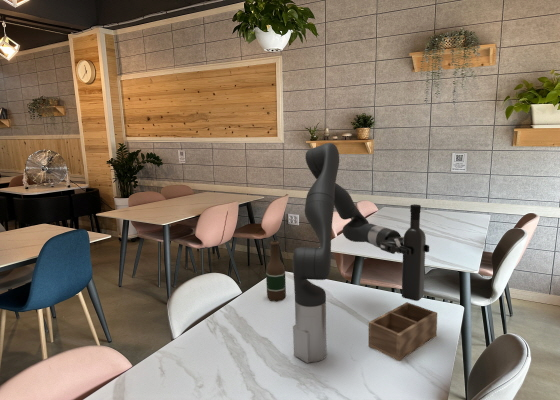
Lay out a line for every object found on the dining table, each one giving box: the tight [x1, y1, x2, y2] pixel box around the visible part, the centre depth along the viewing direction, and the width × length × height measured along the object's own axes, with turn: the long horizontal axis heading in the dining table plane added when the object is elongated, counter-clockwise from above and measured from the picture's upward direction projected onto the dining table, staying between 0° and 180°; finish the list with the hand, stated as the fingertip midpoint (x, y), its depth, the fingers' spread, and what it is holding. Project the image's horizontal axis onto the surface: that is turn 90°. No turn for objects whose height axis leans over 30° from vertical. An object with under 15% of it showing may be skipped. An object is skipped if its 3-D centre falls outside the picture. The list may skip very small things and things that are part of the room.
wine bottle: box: [401, 203, 427, 302], centre depth 121 cm, size 6×6×30 cm
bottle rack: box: [368, 301, 438, 362], centre depth 122 cm, size 21×11×8 cm, turn 130°
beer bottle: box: [265, 240, 287, 303], centre depth 156 cm, size 8×8×24 cm
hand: (419, 250), depth 119 cm, fingers closed on wine bottle, 7 cm apart
